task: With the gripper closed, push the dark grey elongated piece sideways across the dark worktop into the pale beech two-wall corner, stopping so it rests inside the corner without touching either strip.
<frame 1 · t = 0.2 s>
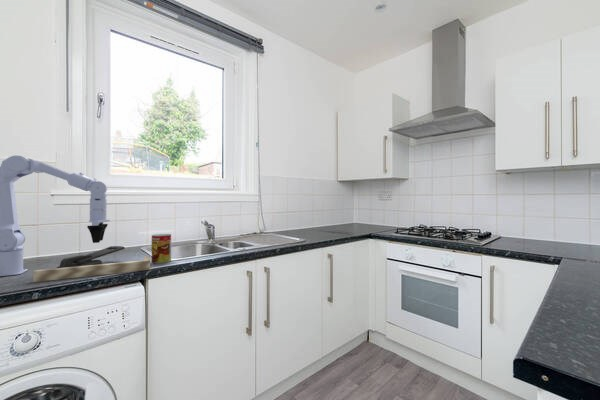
hand: (97, 241, 116), 10 cm above the worktop, tool pointing down, fingers open, 7 cm apart
dark grey elongated piece: (93, 266, 114), on the worktop
canned food: (161, 261, 123), on the worktop
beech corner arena: (83, 276, 98), on the worktop
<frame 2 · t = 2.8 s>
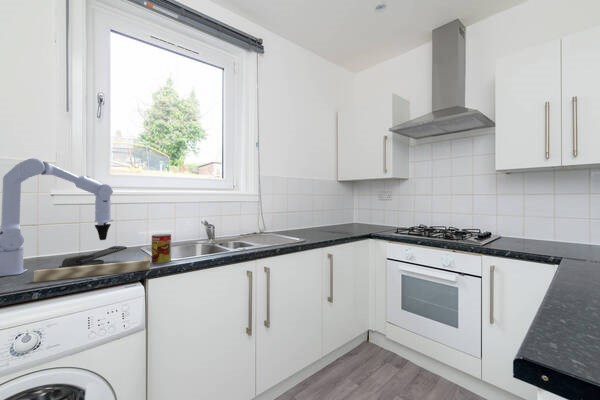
hand: (102, 239, 126), 9 cm above the worktop, tool pointing down, fingers closed
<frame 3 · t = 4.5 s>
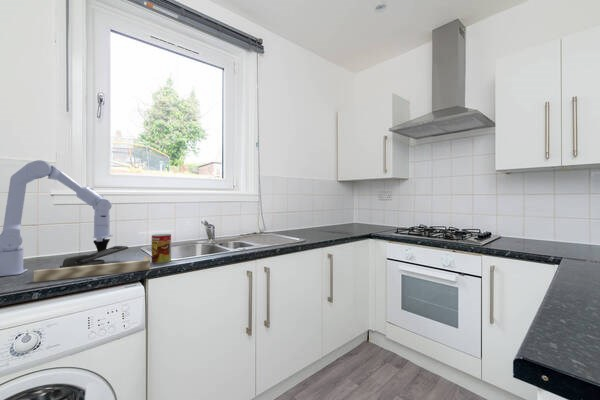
hand: (101, 255, 123), 3 cm above the worktop, tool pointing down, fingers closed
dark grey elongated piece: (96, 266, 115), on the worktop, touching gripper
everything else where it was.
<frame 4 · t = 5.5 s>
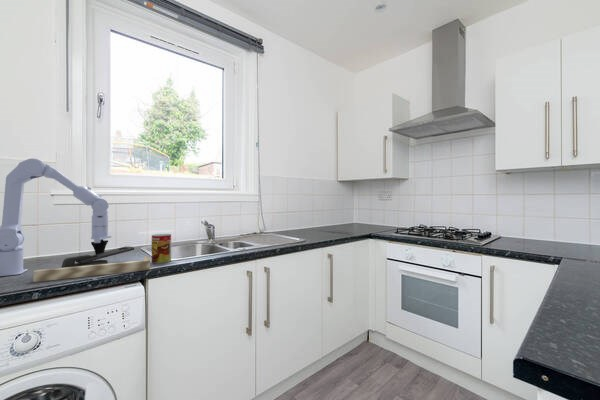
hand: (99, 257, 118), 3 cm above the worktop, tool pointing down, fingers closed
dark grey elongated piece: (100, 267, 114), on the worktop, touching gripper
everything else where it was.
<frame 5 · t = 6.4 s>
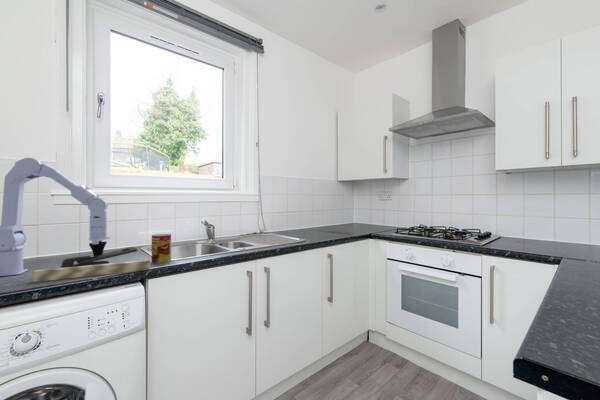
hand: (98, 259, 114), 3 cm above the worktop, tool pointing down, fingers closed
dark grey elongated piece: (101, 268, 111), on the worktop, touching gripper
everything else where it was.
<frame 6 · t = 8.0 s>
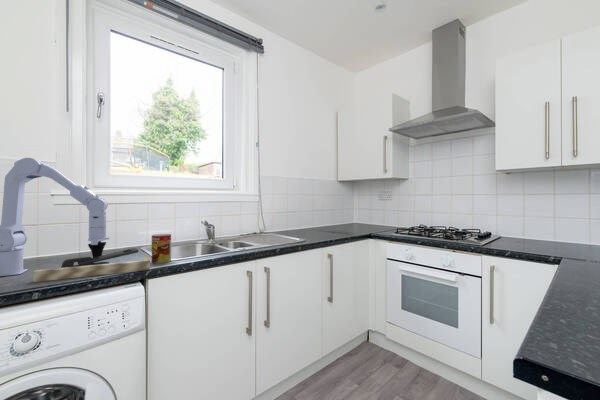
hand: (97, 260, 112), 3 cm above the worktop, tool pointing down, fingers closed
dark grey elongated piece: (102, 269, 110), on the worktop
everything else where it was.
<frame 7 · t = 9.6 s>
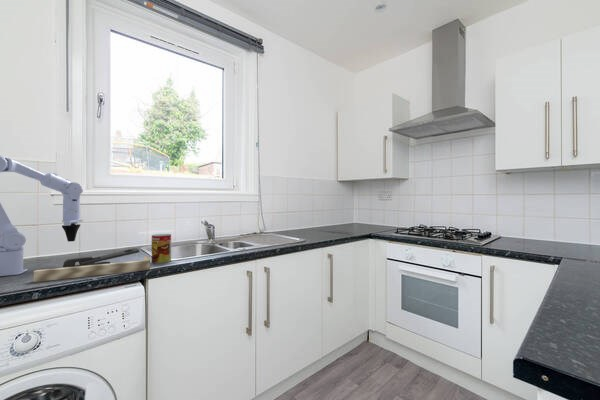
hand: (71, 241, 119), 10 cm above the worktop, tool pointing down, fingers closed
nothing on the worktop moved.
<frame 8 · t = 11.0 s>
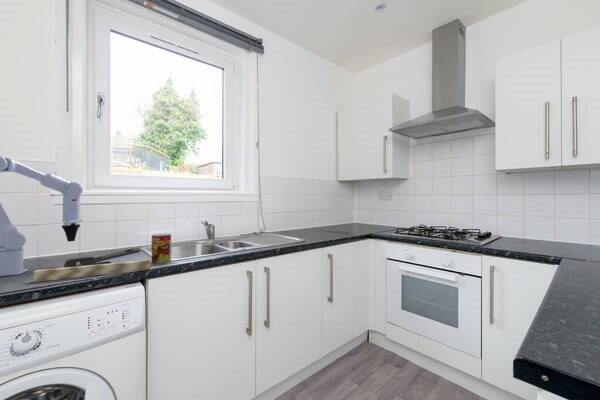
hand: (71, 241, 119), 10 cm above the worktop, tool pointing down, fingers closed
nothing on the worktop moved.
at the end: dark grey elongated piece inside the target area (3.2 cm from its centre), on the worktop; dark grey elongated piece touching worktop; dark grey elongated piece on the worktop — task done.
